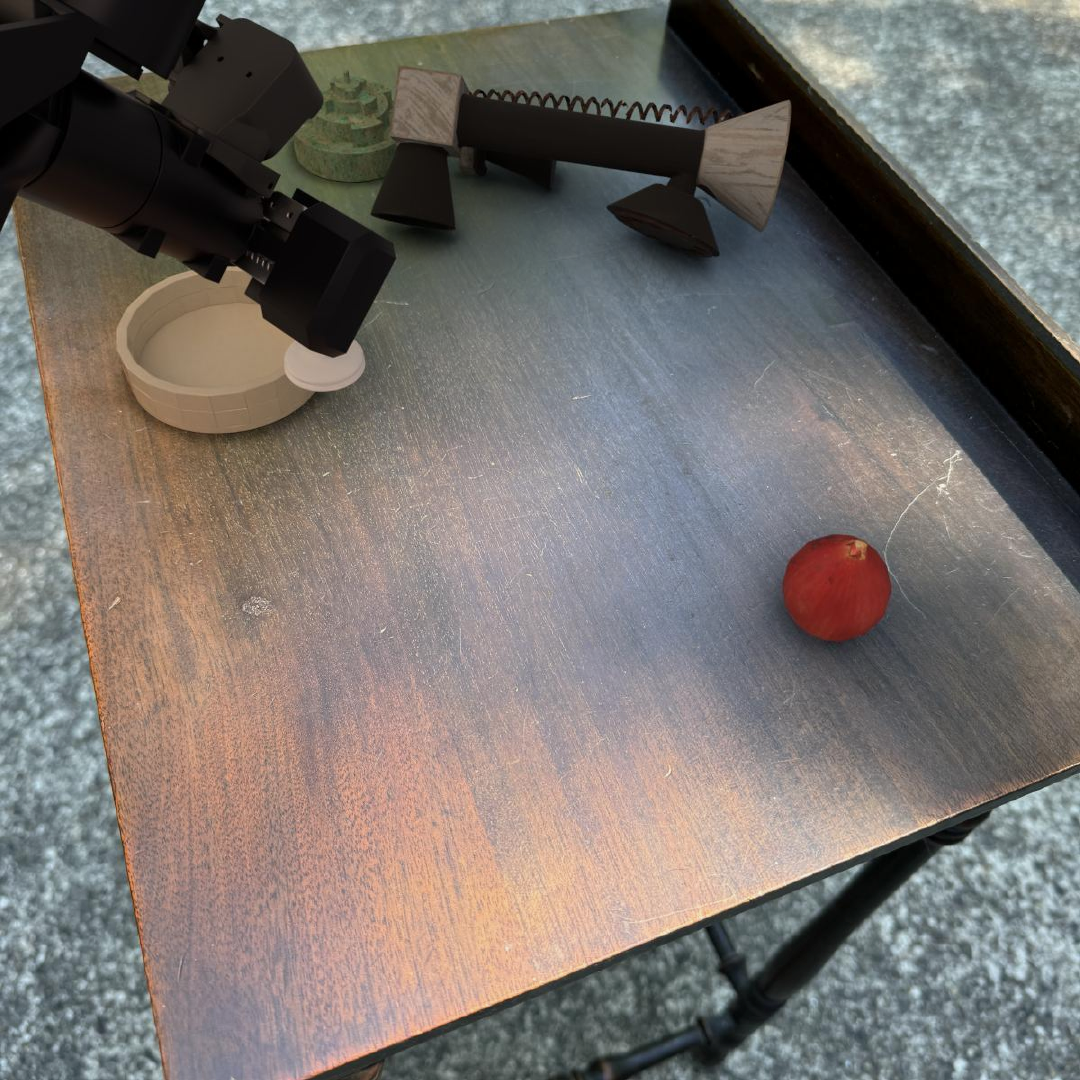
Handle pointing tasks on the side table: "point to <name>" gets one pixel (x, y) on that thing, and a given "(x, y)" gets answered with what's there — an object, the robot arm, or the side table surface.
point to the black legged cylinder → (581, 155)
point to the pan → (206, 356)
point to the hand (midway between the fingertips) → (330, 266)
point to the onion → (836, 587)
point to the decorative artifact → (349, 132)
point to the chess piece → (323, 368)
